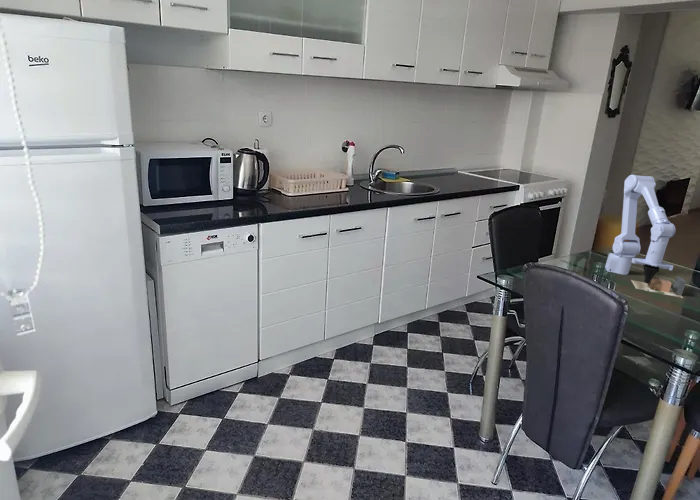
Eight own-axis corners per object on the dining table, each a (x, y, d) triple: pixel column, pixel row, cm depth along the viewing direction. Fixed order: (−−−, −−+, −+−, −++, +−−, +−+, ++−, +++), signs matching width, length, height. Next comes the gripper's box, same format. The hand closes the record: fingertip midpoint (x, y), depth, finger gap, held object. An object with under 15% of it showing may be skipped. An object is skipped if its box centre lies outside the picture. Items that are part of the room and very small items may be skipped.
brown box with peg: (650, 289, 199) (653, 280, 198) (647, 284, 204) (650, 275, 203) (659, 291, 198) (662, 282, 197) (655, 285, 204) (658, 277, 202)
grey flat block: (675, 296, 197) (680, 280, 195) (671, 291, 203) (676, 276, 201) (680, 297, 197) (686, 281, 195) (676, 292, 202) (681, 277, 200)
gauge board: (635, 290, 199) (636, 288, 199) (630, 282, 209) (631, 279, 209) (682, 300, 194) (683, 297, 194) (674, 290, 204) (675, 288, 204)
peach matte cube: (657, 290, 200) (660, 281, 198) (655, 287, 203) (658, 278, 202) (668, 292, 199) (671, 283, 197) (666, 289, 202) (669, 280, 201)
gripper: (638, 250, 196) (628, 281, 201) (679, 258, 192) (668, 289, 196) (634, 246, 203) (625, 276, 207) (674, 253, 199) (664, 283, 203)
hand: (646, 282), depth 202 cm, fingers closed
